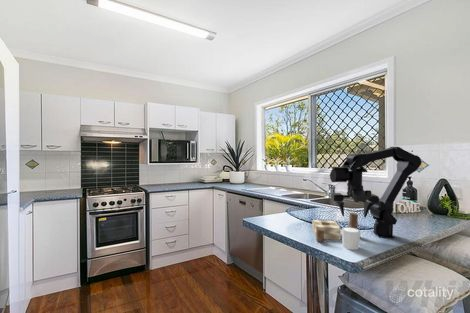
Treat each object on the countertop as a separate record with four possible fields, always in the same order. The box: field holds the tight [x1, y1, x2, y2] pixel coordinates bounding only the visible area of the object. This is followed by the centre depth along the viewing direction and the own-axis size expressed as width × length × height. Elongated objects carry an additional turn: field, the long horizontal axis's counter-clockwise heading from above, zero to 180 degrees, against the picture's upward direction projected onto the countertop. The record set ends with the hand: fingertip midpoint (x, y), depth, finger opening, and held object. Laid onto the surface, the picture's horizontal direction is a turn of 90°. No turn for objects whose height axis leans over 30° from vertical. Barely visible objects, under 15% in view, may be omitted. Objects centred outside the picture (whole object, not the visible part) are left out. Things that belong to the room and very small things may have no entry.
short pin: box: [315, 228, 325, 243], centre depth 102 cm, size 3×3×5 cm
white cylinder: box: [341, 226, 362, 251], centre depth 96 cm, size 7×7×7 cm
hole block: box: [311, 219, 342, 240], centre depth 109 cm, size 10×10×5 cm
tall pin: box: [348, 212, 359, 229], centre depth 108 cm, size 3×3×10 cm
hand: (353, 216), depth 108 cm, fingers open, 9 cm apart
